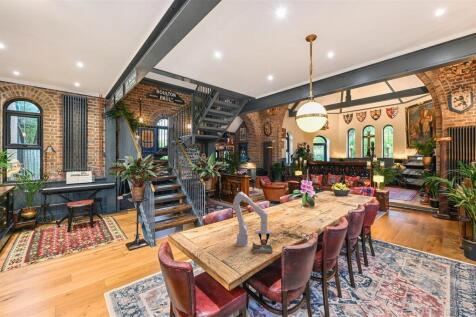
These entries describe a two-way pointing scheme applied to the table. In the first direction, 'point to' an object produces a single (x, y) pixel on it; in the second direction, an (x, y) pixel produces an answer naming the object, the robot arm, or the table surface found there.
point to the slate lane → (264, 249)
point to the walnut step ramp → (255, 246)
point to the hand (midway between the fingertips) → (263, 242)
